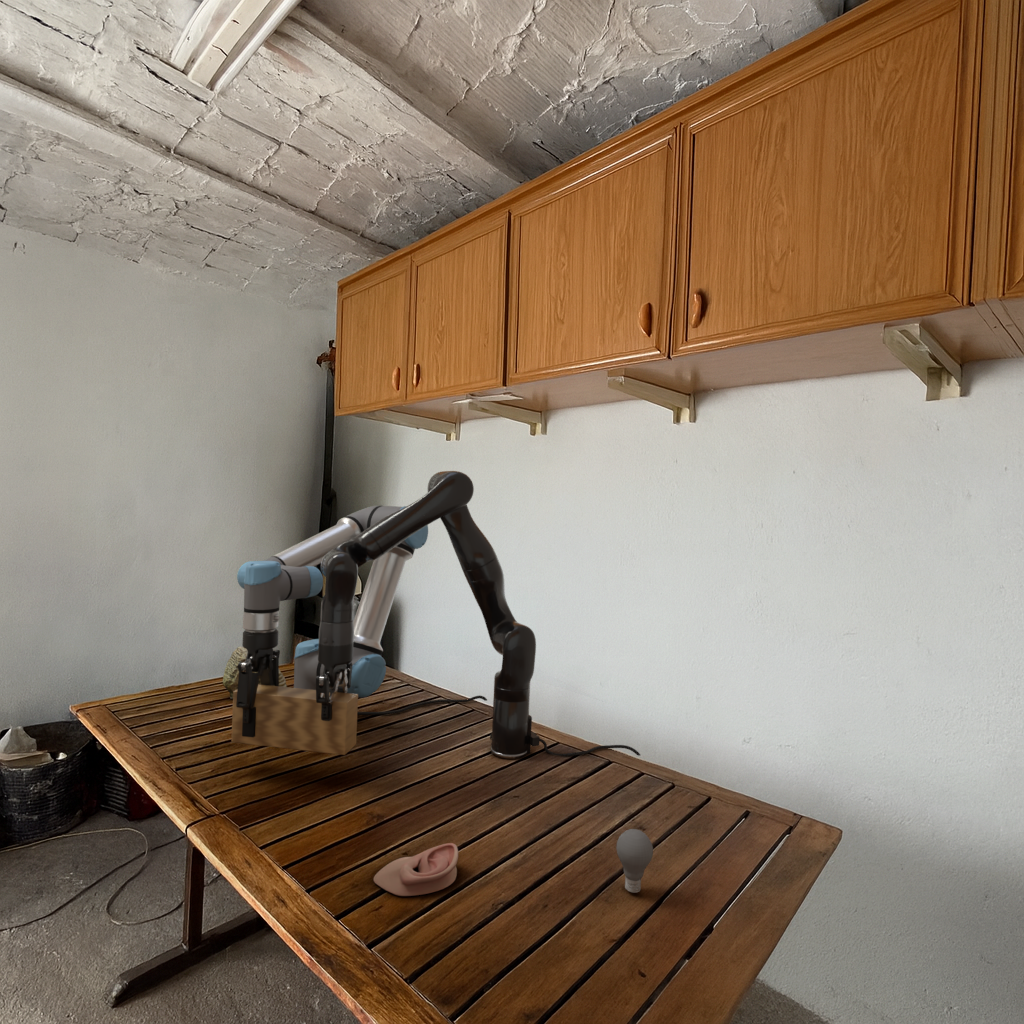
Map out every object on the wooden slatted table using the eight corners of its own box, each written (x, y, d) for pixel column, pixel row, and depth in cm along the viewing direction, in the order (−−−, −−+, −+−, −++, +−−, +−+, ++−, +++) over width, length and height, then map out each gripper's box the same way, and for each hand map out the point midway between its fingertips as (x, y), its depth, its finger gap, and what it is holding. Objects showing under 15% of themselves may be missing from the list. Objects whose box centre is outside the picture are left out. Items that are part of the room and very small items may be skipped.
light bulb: (610, 879, 108) (613, 822, 108) (644, 879, 109) (647, 822, 109) (619, 902, 102) (622, 840, 102) (655, 901, 103) (658, 840, 103)
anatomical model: (366, 866, 102) (393, 830, 114) (365, 890, 103) (392, 852, 114) (444, 879, 100) (464, 841, 111) (443, 904, 100) (463, 864, 111)
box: (231, 742, 141) (233, 691, 141) (247, 732, 148) (249, 683, 147) (344, 755, 137) (346, 702, 137) (356, 744, 144) (358, 694, 143)
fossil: (218, 695, 195) (220, 647, 195) (278, 685, 208) (279, 640, 207) (228, 703, 189) (230, 653, 188) (289, 692, 201) (290, 645, 201)
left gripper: (252, 639, 133) (248, 748, 134) (297, 622, 152) (293, 717, 153) (219, 637, 134) (216, 744, 135) (268, 620, 154) (264, 715, 154)
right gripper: (338, 649, 133) (335, 728, 133) (364, 635, 147) (361, 706, 148) (305, 646, 134) (302, 724, 134) (334, 632, 148) (331, 703, 149)
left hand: (257, 730), depth 144 cm, fingers closed on box, 6 cm apart
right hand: (333, 714), depth 141 cm, fingers closed on box, 6 cm apart
